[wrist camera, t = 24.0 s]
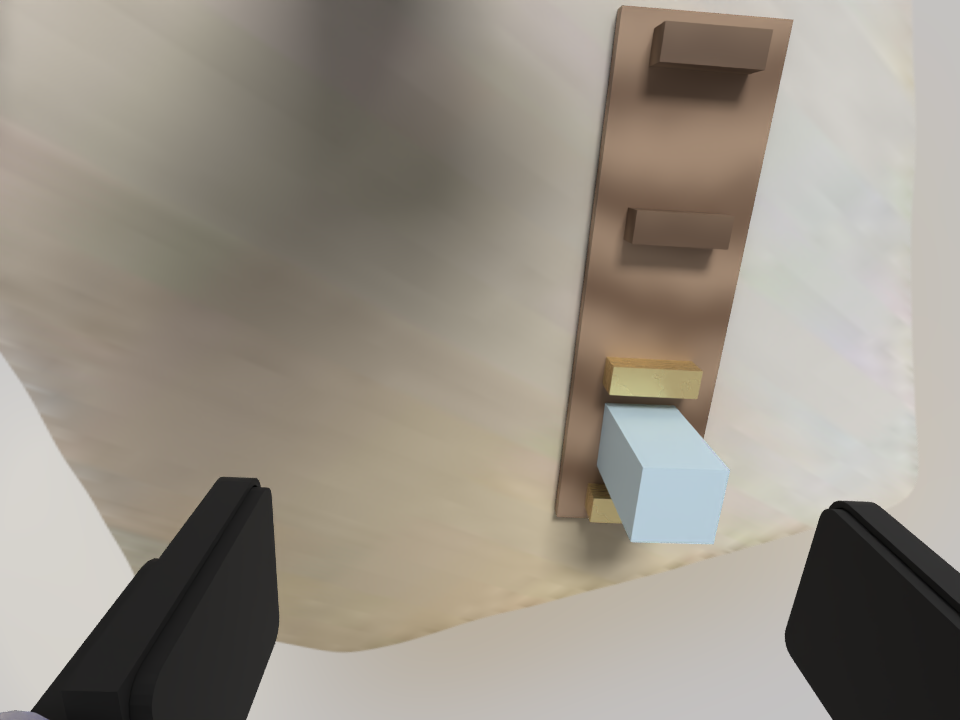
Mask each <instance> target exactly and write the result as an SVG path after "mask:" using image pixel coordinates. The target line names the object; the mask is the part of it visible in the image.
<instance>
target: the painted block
mask: <svg viewBox="0 0 960 720" xmlns="http://www.w3.org/2000/svg"><path fill="white" fill-rule="evenodd" d="M597 467H598V469H599V472H600V474H601V476H602V478H603V481H604V483H605V485H606V488H607V490H608V492H609V494H610V497H611V499H612V501H613V503H614V506H615V508H616V510H617V512H618V515H619V517H620V519H621V521H622V524H623V526H624V528H625V530H626V533H627V535H628V537H629V540H630V542H646V543H687V544H714V540H715V535H716V531H717V526H718V522H719V517H720V513H721V508H722V504H723V499H724V495H725V490H726V486H727V481H728V477H729V473H730V470H729V468H728V467H727V466H726V465H725V464H724V463H723V461H722V460H721V459H720V458H719V457H718V456H717V454H716V453H715V452H714V451H713V450H712V449H711V447H710V446H709V445H708V444H707V443H706V442H705V440H704V439H703V438H702V437H701V436H700V435H699V433H698V432H697V431H696V430H695V429H694V428H693V427H692V425H691V424H690V423H689V422H688V421H687V420H686V418H685V417H684V416H683V415H682V414H681V413H680V411H679V410H678V409H677V408H676V407H675V406H674V405H647V404H619V403H605V408H604V415H603V422H602V430H601V437H600V444H599V452H598V459H597Z"/></svg>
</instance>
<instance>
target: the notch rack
mask: <svg viewBox="0 0 960 720" xmlns="http://www.w3.org/2000/svg"><path fill="white" fill-rule="evenodd" d="M792 24H793V20H790V19H778V18H766V17H754V16H743V15H731V14H719V13H707V12H695V11H683V10H671V9H659V8H647V7H636V6H624V5H622V6H621V7H620V8H619V9H618V12H617V20H616V28H615V36H614V44H613V52H612V60H611V68H610V76H609V84H608V92H607V100H606V108H605V116H604V124H603V132H602V139H601V147H600V155H599V163H598V171H597V179H596V187H595V195H594V203H593V211H592V219H591V227H590V235H589V243H588V251H587V259H586V267H585V275H584V283H583V291H582V298H581V306H580V314H579V322H578V330H577V338H576V346H575V354H574V362H573V370H572V378H571V386H570V394H569V402H568V410H567V418H566V426H565V434H564V442H563V449H562V457H561V465H560V473H559V481H558V489H557V497H556V505H555V511H556V515H557V517H575V518H589V520H590V522H596V523H622V521H621V519H620V517H619V515H618V512H617V510H616V508H615V506H614V503H613V501H612V499H611V497H610V494H609V492H608V490H607V488H606V485H605V483H604V481H603V478H602V476H601V474H600V472H599V469H598V467H597V459H598V452H599V444H600V437H601V430H602V422H603V415H604V408H605V403H619V404H647V405H674V406H675V407H676V408H677V409H678V410H679V411H680V413H681V414H682V415H683V416H684V417H685V418H686V420H687V421H688V422H689V423H690V424H691V425H692V427H693V428H694V429H695V430H696V431H697V432H698V433H699V435H700V436H701V437H702V438H703V439H704V434H705V429H706V425H707V420H708V415H709V411H710V406H711V401H712V397H713V392H714V387H715V383H716V378H717V373H718V369H719V364H720V359H721V355H722V350H723V345H724V341H725V336H726V331H727V327H728V322H729V317H730V313H731V308H732V303H733V299H734V294H735V289H736V285H737V280H738V275H739V271H740V266H741V261H742V257H743V252H744V248H745V243H746V238H747V234H748V229H749V224H750V220H751V215H752V210H753V206H754V201H755V196H756V192H757V187H758V182H759V178H760V173H761V168H762V164H763V159H764V154H765V150H766V145H767V140H768V136H769V131H770V126H771V122H772V117H773V112H774V108H775V103H776V98H777V94H778V89H779V84H780V80H781V75H782V70H783V66H784V61H785V56H786V52H787V47H788V42H789V38H790V33H791V28H792Z"/></svg>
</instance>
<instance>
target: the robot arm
mask: <svg viewBox="0 0 960 720" xmlns="http://www.w3.org/2000/svg"><path fill="white" fill-rule="evenodd" d="M278 628H279V606H278V590H277V574H276V558H275V541H274V525H273V509H272V495H271V490H270V489H269V488H265V487H261V486H260V482H259V480H258V479H257V478H238V477H220V478H219V479H218V480H217V481H216V483H215V484H214V485H213V487H212V488H211V489H210V491H209V492H208V493H207V495H206V496H205V497H204V499H203V500H202V501H201V503H200V504H199V505H198V507H197V508H196V509H195V511H194V512H193V513H192V515H191V516H190V517H189V519H188V520H187V521H186V523H185V524H184V526H183V527H182V528H181V530H180V531H179V532H178V534H177V535H176V536H175V538H174V539H173V540H172V542H171V543H170V544H169V546H168V547H167V548H166V550H165V551H164V552H163V554H162V555H161V556H160V558H159V559H158V558H154V559H152V560H150V561H148V562H147V563H146V564H145V565H144V566H143V567H142V568H141V569H140V570H139V571H138V573H137V574H136V575H135V577H134V578H133V579H132V581H131V582H130V583H129V584H128V586H127V587H126V588H125V590H124V591H123V592H122V593H121V595H120V596H119V597H118V599H117V600H116V601H115V603H114V604H113V605H112V606H111V608H110V609H109V610H108V612H107V613H106V614H105V616H104V617H103V618H102V619H101V621H100V622H99V623H98V625H97V626H96V627H95V628H94V630H93V631H92V632H91V634H90V635H89V636H88V638H87V639H86V640H85V641H84V643H83V644H82V645H81V647H80V648H79V649H78V650H77V652H76V653H75V654H74V656H73V657H72V658H71V660H70V661H69V662H68V663H67V665H66V666H65V667H64V669H63V670H62V671H61V673H60V674H59V675H58V676H57V678H56V679H55V680H54V682H53V683H52V684H51V685H50V687H49V688H48V690H47V691H46V692H45V693H44V695H43V696H42V697H41V698H40V700H39V701H38V702H37V704H36V705H35V706H34V708H33V709H32V710H31V712H25V711H8V712H2V713H0V720H246V718H247V716H248V713H249V711H250V708H251V705H252V703H253V700H254V697H255V695H256V692H257V689H258V687H259V684H260V682H261V679H262V676H263V674H264V670H265V668H266V666H267V663H268V660H269V658H270V655H271V652H272V650H273V647H274V644H275V642H276V638H277V634H278ZM785 642H786V647H787V650H788V652H789V654H790V656H791V657H792V659H793V660H794V662H795V663H796V665H797V666H798V668H799V670H800V671H801V672H802V674H803V676H804V677H805V679H806V680H807V682H808V683H809V685H810V686H811V688H812V689H813V691H814V692H815V694H816V695H817V697H818V698H819V700H820V701H821V703H822V704H823V706H824V707H825V709H826V710H827V712H828V713H829V715H830V716H831V718H832V719H833V720H960V573H959V572H958V571H956V570H955V569H954V568H953V567H952V566H951V565H949V564H948V563H947V562H946V561H945V560H943V559H942V558H941V557H940V556H939V555H937V554H936V553H935V552H934V551H932V550H931V549H930V548H929V547H928V546H927V545H925V544H924V543H923V542H922V541H920V540H919V539H918V538H917V537H916V536H915V535H913V534H912V533H911V532H910V531H909V530H907V529H906V528H905V527H904V526H903V525H901V524H900V523H899V522H898V521H897V520H896V519H894V518H893V517H892V516H891V515H889V514H888V513H887V512H886V511H885V510H884V509H882V508H881V507H880V506H878V505H877V504H875V503H872V502H858V501H836V502H834V503H833V504H832V505H831V506H830V507H829V509H826V510H824V511H823V512H822V513H821V516H820V518H819V521H818V525H817V528H816V531H815V534H814V538H813V541H812V544H811V548H810V551H809V554H808V558H807V561H806V564H805V568H804V571H803V574H802V577H801V581H800V584H799V587H798V590H797V594H796V597H795V600H794V604H793V608H792V610H791V614H790V617H789V620H788V624H787V627H786V630H785Z"/></svg>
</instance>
